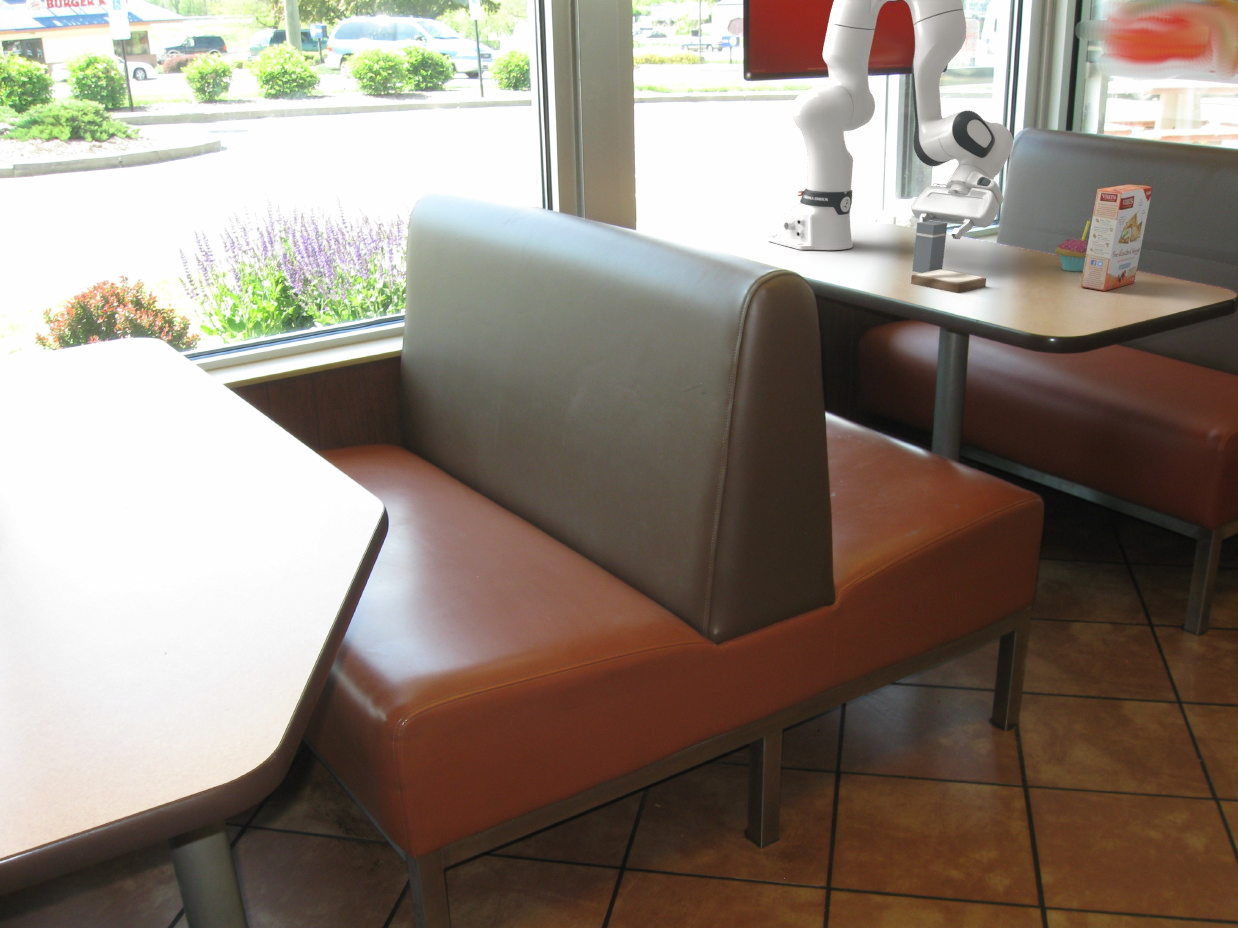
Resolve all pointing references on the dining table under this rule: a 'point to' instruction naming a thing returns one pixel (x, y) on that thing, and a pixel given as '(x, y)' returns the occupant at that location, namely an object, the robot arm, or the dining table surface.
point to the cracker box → (1116, 236)
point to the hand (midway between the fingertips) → (937, 235)
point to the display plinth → (948, 280)
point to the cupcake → (1073, 252)
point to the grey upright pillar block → (929, 246)
